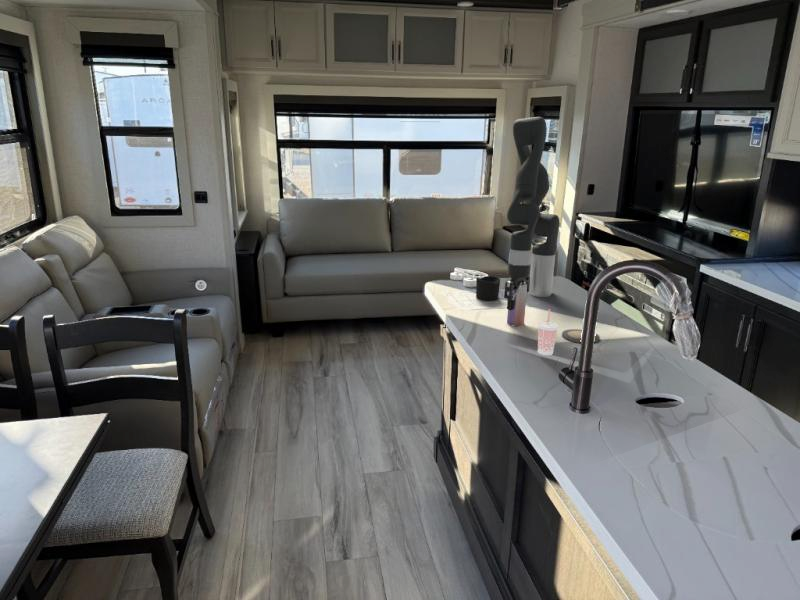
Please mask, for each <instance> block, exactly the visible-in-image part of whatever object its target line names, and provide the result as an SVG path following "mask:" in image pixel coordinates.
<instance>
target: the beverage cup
mask: <svg viewBox="0 0 800 600" xmlns="http://www.w3.org/2000/svg"><path fill="white" fill-rule="evenodd" d="M550 315H551V308H548V313H547V321H541V322H537V328H538V329H537V331H538V332H537V333H538V334H537V353H538V354H540V355H542V356H552V355H553V354H554V349H555V344H556V338H557V331H558V329H559V325H558V324H557V323H555V322H551V321H550V317H551V316H550Z"/></svg>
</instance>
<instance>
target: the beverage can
mask: <svg viewBox="0 0 800 600" xmlns="http://www.w3.org/2000/svg"><path fill="white" fill-rule="evenodd" d="M526 285H527V284H522V286H520V287H519V292H518V294H517V295H516V296H515V298H514V309H513V310H508V309H507V317H506V318H507V319H506V322H507V324H508V325H509V324H510V326H511V325H514V326H513V327H521V326H524V324H525V316H526V303H527V294H528V292H527V286H526ZM517 286H518V285H517ZM513 291H516V289H513ZM526 293H527V294H526ZM512 296H513V294H512Z"/></svg>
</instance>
